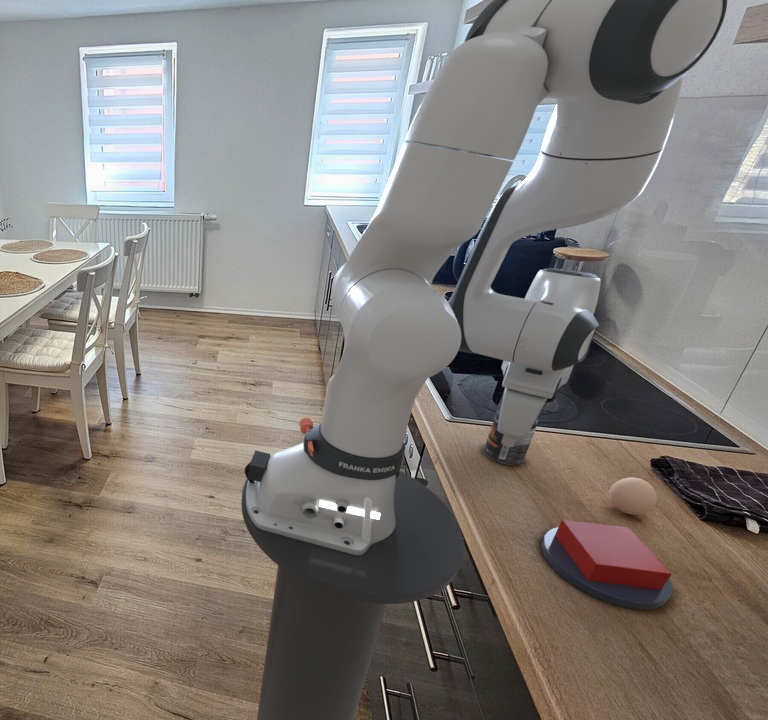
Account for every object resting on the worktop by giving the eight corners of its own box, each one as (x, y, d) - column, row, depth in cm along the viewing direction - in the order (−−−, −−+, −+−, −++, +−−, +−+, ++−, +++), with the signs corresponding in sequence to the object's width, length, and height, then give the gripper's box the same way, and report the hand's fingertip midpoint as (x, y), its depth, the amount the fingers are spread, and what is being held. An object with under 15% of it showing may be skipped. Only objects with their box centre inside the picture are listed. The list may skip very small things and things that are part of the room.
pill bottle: (480, 443, 93) (498, 391, 88) (519, 450, 91) (539, 397, 86) (485, 461, 88) (504, 407, 84) (526, 469, 86) (548, 414, 81)
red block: (587, 580, 64) (596, 564, 63) (554, 535, 71) (561, 519, 70) (661, 590, 62) (672, 573, 61) (620, 543, 69) (629, 527, 68)
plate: (572, 600, 63) (576, 593, 63) (523, 526, 74) (526, 520, 74) (697, 618, 60) (701, 611, 60) (626, 538, 72) (629, 532, 71)
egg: (609, 516, 76) (625, 486, 73) (598, 496, 80) (612, 466, 77) (654, 526, 74) (671, 495, 71) (639, 504, 78) (655, 474, 75)
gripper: (522, 340, 90) (500, 405, 96) (502, 381, 77) (478, 454, 83) (567, 349, 86) (541, 416, 92) (553, 394, 73) (524, 469, 79)
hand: (511, 435), depth 88 cm, fingers closed on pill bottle, 6 cm apart
